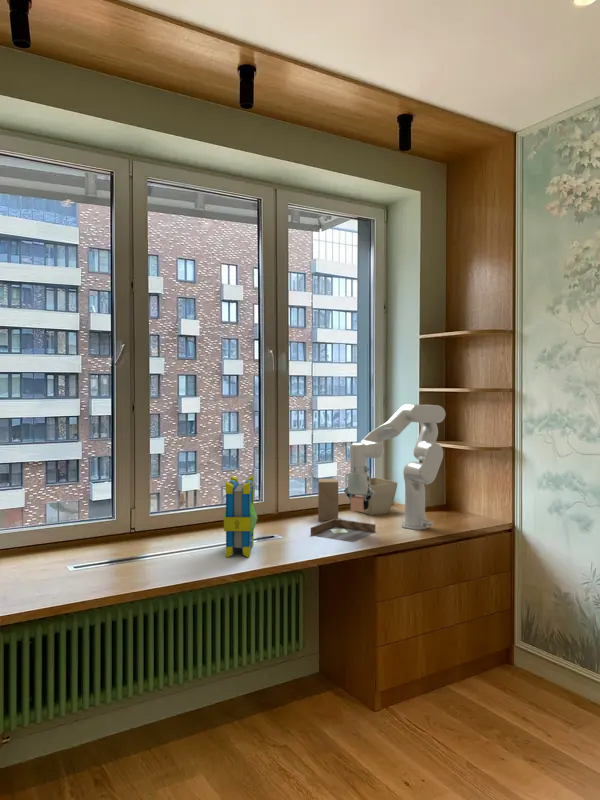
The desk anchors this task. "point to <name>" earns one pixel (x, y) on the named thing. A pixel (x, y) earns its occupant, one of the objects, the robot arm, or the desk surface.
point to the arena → (343, 530)
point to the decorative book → (239, 516)
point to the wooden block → (327, 499)
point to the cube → (357, 503)
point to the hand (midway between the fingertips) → (359, 508)
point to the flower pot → (381, 496)
